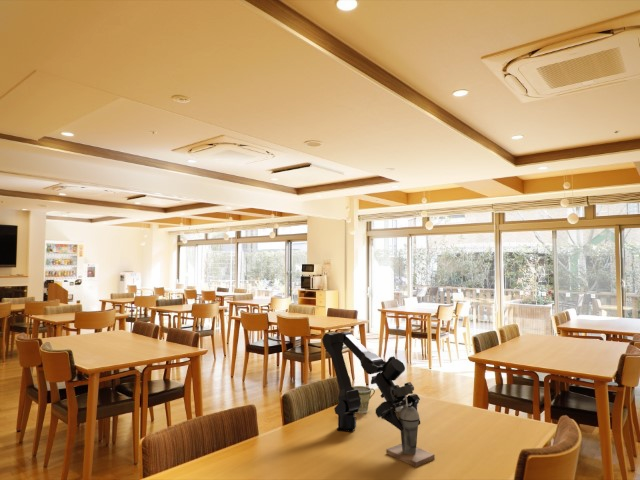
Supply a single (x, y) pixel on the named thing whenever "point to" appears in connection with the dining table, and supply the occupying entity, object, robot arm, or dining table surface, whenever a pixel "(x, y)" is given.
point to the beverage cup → (409, 428)
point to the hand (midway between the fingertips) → (411, 427)
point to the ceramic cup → (364, 397)
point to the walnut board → (415, 459)
